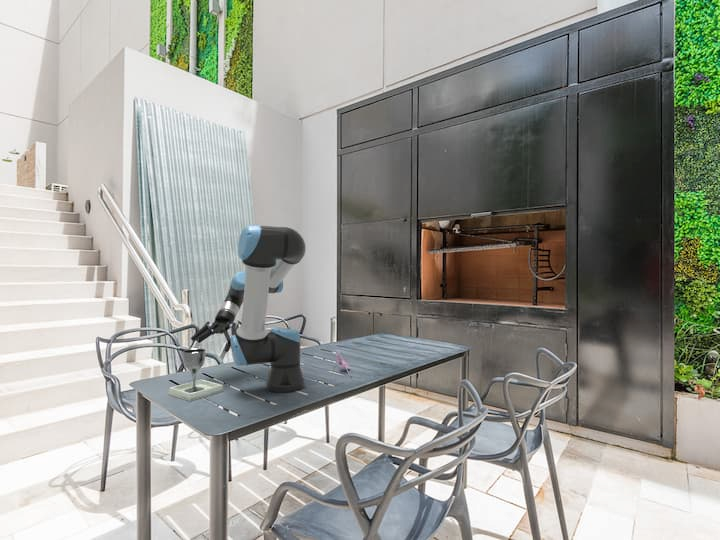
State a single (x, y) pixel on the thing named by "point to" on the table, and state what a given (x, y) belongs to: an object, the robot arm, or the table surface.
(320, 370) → the table surface
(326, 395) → the table surface
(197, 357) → the wine glass
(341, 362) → the lily
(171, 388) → the white tray
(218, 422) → the table surface
